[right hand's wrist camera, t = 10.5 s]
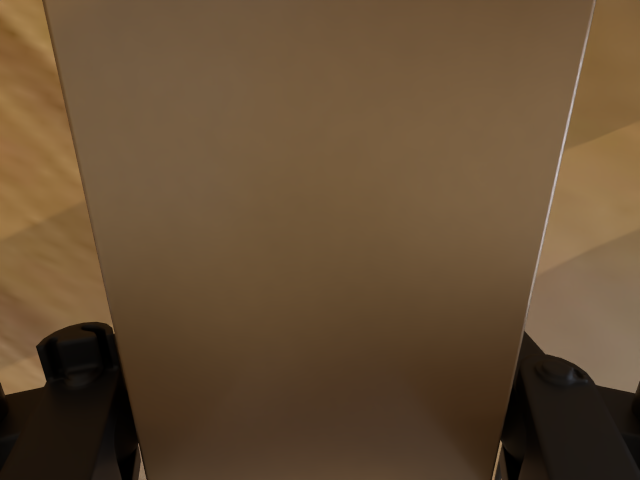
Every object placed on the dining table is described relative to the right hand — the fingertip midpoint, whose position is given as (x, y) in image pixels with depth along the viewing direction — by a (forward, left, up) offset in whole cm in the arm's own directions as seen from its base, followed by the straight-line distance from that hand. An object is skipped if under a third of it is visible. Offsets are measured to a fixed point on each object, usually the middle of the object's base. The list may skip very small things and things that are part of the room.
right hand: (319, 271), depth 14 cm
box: (+1, +8, -1) cm, 8 cm away
